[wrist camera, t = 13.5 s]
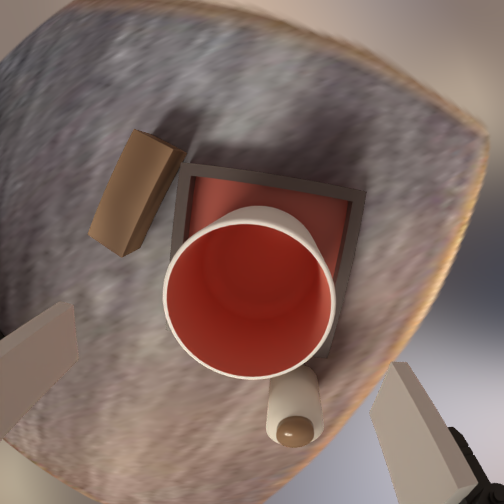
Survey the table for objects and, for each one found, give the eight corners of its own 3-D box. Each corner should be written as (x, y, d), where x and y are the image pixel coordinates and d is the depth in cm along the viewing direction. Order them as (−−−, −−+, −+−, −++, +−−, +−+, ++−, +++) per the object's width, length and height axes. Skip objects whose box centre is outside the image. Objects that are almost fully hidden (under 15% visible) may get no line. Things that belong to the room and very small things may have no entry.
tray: (173, 319, 30) (165, 330, 28) (189, 163, 27) (180, 162, 24) (324, 345, 29) (327, 358, 27) (359, 190, 26) (366, 191, 23)
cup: (243, 181, 26) (220, 180, 16) (340, 249, 26) (371, 287, 16) (182, 275, 28) (135, 320, 18) (273, 335, 28) (267, 404, 19)
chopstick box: (109, 227, 29) (87, 234, 25) (152, 134, 26) (134, 128, 23) (140, 247, 29) (121, 257, 25) (188, 153, 27) (173, 149, 23)
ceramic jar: (265, 397, 31) (260, 450, 23) (274, 360, 30) (271, 412, 22) (310, 402, 31) (315, 455, 23) (322, 366, 30) (332, 418, 22)
